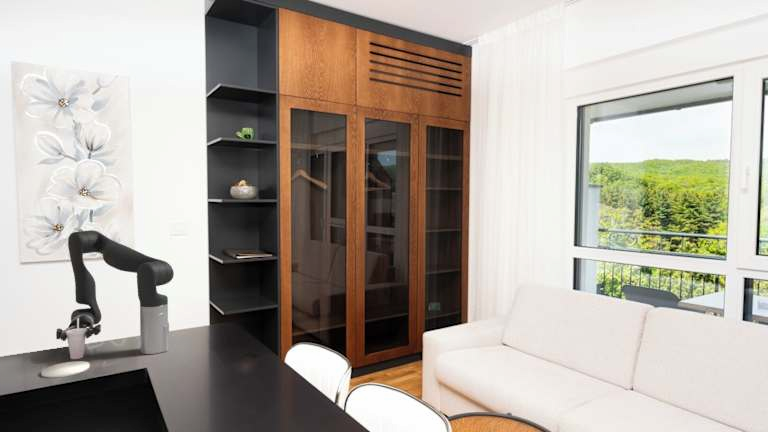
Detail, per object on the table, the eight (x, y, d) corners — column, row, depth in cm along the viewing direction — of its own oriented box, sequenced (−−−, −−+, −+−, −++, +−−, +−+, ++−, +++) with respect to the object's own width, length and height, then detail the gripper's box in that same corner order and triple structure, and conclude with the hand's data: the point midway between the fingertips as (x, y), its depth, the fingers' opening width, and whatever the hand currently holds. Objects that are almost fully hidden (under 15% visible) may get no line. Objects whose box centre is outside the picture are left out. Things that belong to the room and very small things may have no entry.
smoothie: (79, 360, 159) (79, 320, 158) (61, 360, 159) (60, 320, 159) (91, 354, 165) (91, 316, 165) (74, 354, 165) (73, 316, 165)
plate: (94, 361, 157) (94, 359, 157) (82, 375, 145) (82, 372, 145) (50, 365, 153) (50, 363, 153) (34, 379, 141) (34, 377, 141)
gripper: (58, 318, 171) (50, 328, 156) (103, 314, 178) (99, 323, 163) (58, 338, 171) (50, 350, 156) (103, 333, 178) (99, 344, 163)
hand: (75, 336), depth 160 cm, fingers closed on smoothie, 6 cm apart
